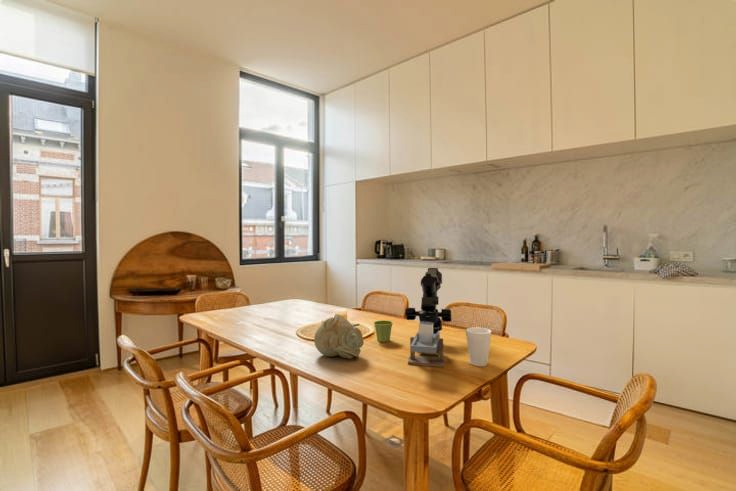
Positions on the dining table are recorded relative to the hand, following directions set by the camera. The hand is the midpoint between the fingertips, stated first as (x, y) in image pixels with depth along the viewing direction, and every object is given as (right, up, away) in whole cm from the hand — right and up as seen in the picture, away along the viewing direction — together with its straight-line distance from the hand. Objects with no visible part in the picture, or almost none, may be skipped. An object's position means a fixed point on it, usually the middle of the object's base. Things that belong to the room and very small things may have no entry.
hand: (427, 332), depth 148 cm
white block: (-1, -2, -5) cm, 6 cm away
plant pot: (-16, -11, +28) cm, 34 cm away
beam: (-1, -9, -4) cm, 10 cm away
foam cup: (+19, -11, -4) cm, 23 cm away
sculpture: (-36, -12, +6) cm, 38 cm away
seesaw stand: (0, -11, -2) cm, 11 cm away
